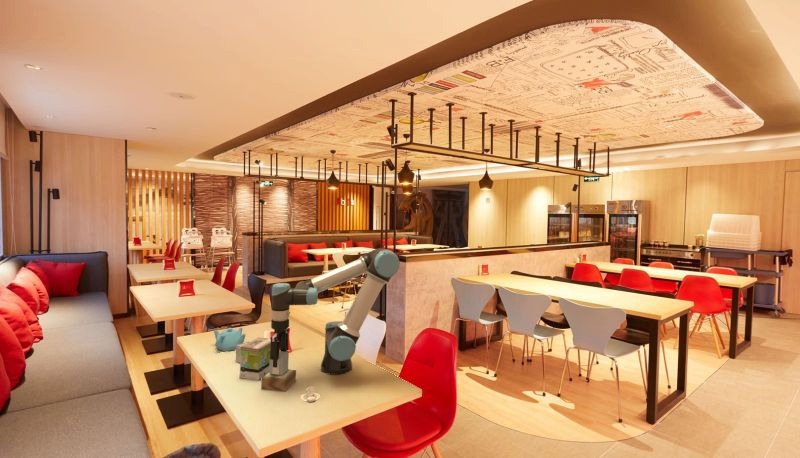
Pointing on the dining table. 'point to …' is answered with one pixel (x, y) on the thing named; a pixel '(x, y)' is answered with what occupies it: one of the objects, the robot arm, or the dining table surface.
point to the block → (281, 363)
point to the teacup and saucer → (310, 394)
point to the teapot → (229, 339)
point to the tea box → (255, 359)
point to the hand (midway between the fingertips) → (279, 370)
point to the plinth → (278, 381)
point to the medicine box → (239, 351)
